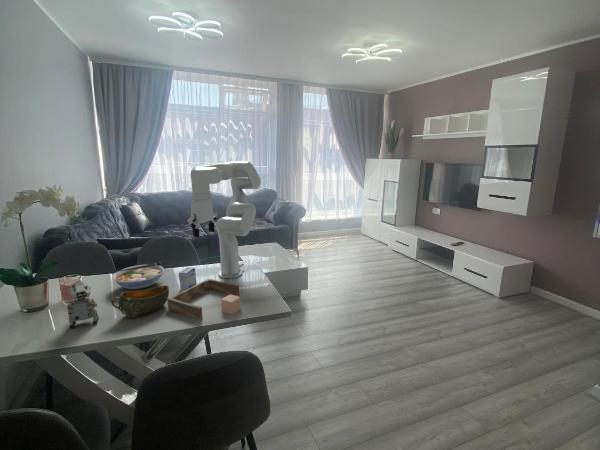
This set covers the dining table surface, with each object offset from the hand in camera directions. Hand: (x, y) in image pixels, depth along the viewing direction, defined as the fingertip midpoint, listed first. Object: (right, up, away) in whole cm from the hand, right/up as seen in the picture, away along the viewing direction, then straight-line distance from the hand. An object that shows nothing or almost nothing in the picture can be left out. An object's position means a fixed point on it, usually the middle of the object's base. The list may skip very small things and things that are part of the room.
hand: (204, 234), depth 145 cm
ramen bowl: (-35, -26, +13) cm, 46 cm away
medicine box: (-12, -26, +13) cm, 31 cm away
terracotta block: (+15, -32, -11) cm, 37 cm away
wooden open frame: (+2, -30, -4) cm, 30 cm away
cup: (-22, -32, -12) cm, 41 cm away
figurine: (-41, -34, -20) cm, 56 cm away
